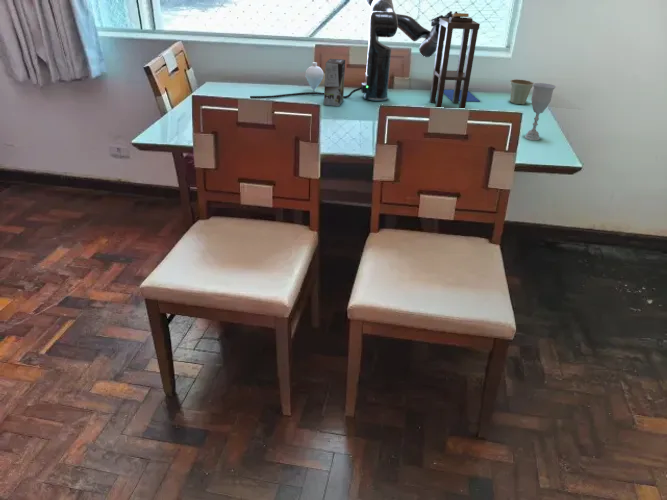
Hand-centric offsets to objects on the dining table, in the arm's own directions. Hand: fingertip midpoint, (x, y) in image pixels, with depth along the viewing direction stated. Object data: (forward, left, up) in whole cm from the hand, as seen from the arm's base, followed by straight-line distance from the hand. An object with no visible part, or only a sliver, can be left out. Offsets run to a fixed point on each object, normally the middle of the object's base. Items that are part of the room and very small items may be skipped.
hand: (453, 13), depth 216 cm
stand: (0, -9, -33) cm, 34 cm away
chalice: (+20, -48, -33) cm, 62 cm away
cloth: (+10, +7, -33) cm, 35 cm away
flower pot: (+33, -2, -33) cm, 47 cm away
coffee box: (-46, -9, -33) cm, 58 cm away
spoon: (0, -3, -3) cm, 4 cm away
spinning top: (-53, +7, -33) cm, 63 cm away
